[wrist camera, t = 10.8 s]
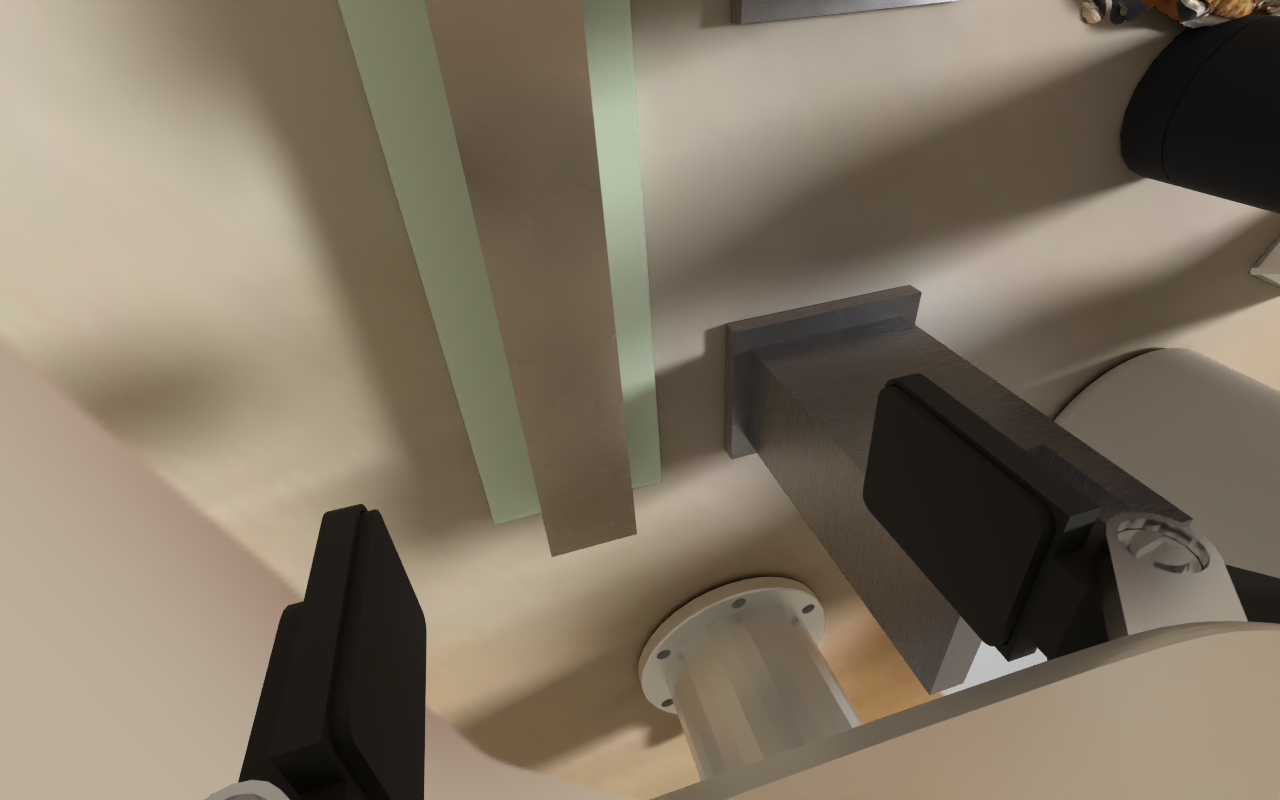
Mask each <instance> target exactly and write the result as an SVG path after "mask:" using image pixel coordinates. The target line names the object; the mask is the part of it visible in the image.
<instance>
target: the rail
mask: <svg viewBox="0 0 1280 800" xmlns="http://www.w3.org/2000/svg"><path fill="white" fill-rule="evenodd" d="M424 1H425V5H426V10H427V14H428V18H429V23H430V27H431V31H432V36H433V40H434V44H435V49H436V53H437V58H438V62H439V66H440V71H441V75H442V79H443V84H444V88H445V92H446V97H447V101H448V106H449V110H450V114H451V119H452V123H453V127H454V132H455V136H456V140H457V145H458V149H459V154H460V158H461V162H462V167H463V171H464V175H465V180H466V184H467V189H468V193H469V197H470V202H471V206H472V210H473V215H474V219H475V223H476V228H477V232H478V237H479V241H480V245H481V250H482V254H483V258H484V263H485V267H486V271H487V276H488V280H489V285H490V289H491V293H492V298H493V302H494V306H495V311H496V315H497V319H498V324H499V328H500V333H501V337H502V341H503V346H504V350H505V354H506V359H507V363H508V367H509V372H510V376H511V381H512V385H513V389H514V394H515V398H516V402H517V407H518V411H519V415H520V420H521V424H522V429H523V433H524V437H525V442H526V446H527V450H528V455H529V459H530V464H531V468H532V472H533V477H534V481H535V485H536V490H537V494H538V498H539V503H540V507H541V512H542V516H543V520H544V525H545V529H546V533H547V538H548V542H549V546H550V551H551V555H552V557H554V556H557V555H561V554H565V553H568V552H572V551H576V550H579V549H583V548H587V547H590V546H594V545H598V544H601V543H605V542H609V541H612V540H616V539H620V538H623V537H627V536H631V535H634V534H637V530H636V521H635V511H634V501H633V492H632V482H631V473H630V463H629V453H628V444H627V434H626V424H625V415H624V405H623V396H622V386H621V376H620V367H619V357H618V347H617V338H616V328H615V319H614V309H613V299H612V290H611V280H610V271H609V261H608V251H607V242H606V232H605V222H604V213H603V203H602V194H601V184H600V174H599V165H598V155H597V146H596V136H595V126H594V117H593V107H592V97H591V88H590V78H589V69H588V59H587V49H586V40H585V30H584V20H583V11H582V1H581V0H424Z"/></svg>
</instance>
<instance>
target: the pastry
mask: <svg viewBox="0 0 1280 800" xmlns="http://www.w3.org/2000/svg"><path fill="white" fill-rule="evenodd" d="M1155 5H1156V8H1157V9H1158V10H1160V11H1161V12H1164V13H1166V14H1167V15H1168V16H1169V17H1170V18H1173V19H1176V20H1179V21H1181V22H1180V23H1182V24H1183V26H1188V27H1191V28H1197V27H1202V26H1210V27H1212V26H1215V25H1218V24H1221V23H1223V22H1227V21H1231V20H1235V19H1239V18H1241V17H1243V16H1245V15H1270V16H1280V0H1112V9H1111V13H1110V20H1111V22H1112V23H1113V24H1115V25H1117V24H1121V23H1122V22H1123V21H1124V20H1126V21H1131V20H1133V19H1135V18H1136V17H1137V16H1138V15H1140V14H1141V13H1143V12H1145V11H1147V10H1149V9H1150V8H1152V7H1153V6H1155ZM1122 6H1126V7H1127V9H1128V10H1127V14H1126V16H1124V15H1123V16H1122V15H1121V14H1120V9H1121V7H1122ZM1105 13H1106V2H1105V0H1084V1H1083V4H1082V16H1083V19H1084V21H1085V22H1086V23H1088V24H1094V23H1097V22H1099V21H1101V20H1102V19H1103V18H1104V16H1105Z"/></svg>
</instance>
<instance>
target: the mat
mask: <svg viewBox="0 0 1280 800" xmlns="http://www.w3.org/2000/svg"><path fill="white" fill-rule="evenodd" d="M581 1H582V11H583V20H584V30H585V40H586V49H587V59H588V69H589V78H590V88H591V97H592V107H593V117H594V126H595V136H596V146H597V155H598V165H599V174H600V184H601V194H602V203H603V213H604V222H605V232H606V242H607V251H608V261H609V271H610V280H611V290H612V299H613V309H614V319H615V328H616V338H617V347H618V357H619V367H620V376H621V386H622V396H623V405H624V415H625V424H626V434H627V444H628V453H629V463H630V473H631V482H632V489H636V488H640V487H644V486H647V485H651V484H655V483H659V482H662V476H661V461H660V446H659V431H658V416H657V401H656V386H655V371H654V356H653V341H652V326H651V311H650V296H649V281H648V266H647V251H646V236H645V221H644V206H643V191H642V176H641V161H640V146H639V131H638V116H637V101H636V86H635V70H634V55H633V40H632V25H631V10H630V0H581ZM338 3H339V6H340V10H341V13H342V16H343V20H344V23H345V26H346V30H347V33H348V36H349V40H350V43H351V46H352V50H353V53H354V56H355V60H356V63H357V67H358V70H359V73H360V77H361V80H362V83H363V87H364V90H365V93H366V97H367V100H368V103H369V107H370V110H371V113H372V117H373V120H374V123H375V127H376V130H377V133H378V137H379V140H380V143H381V147H382V150H383V153H384V157H385V160H386V163H387V167H388V170H389V173H390V177H391V180H392V183H393V187H394V190H395V193H396V197H397V200H398V203H399V207H400V210H401V213H402V217H403V220H404V223H405V227H406V230H407V233H408V237H409V240H410V243H411V247H412V250H413V254H414V257H415V260H416V264H417V267H418V270H419V274H420V277H421V280H422V284H423V287H424V290H425V294H426V297H427V300H428V304H429V307H430V310H431V314H432V317H433V320H434V324H435V327H436V330H437V334H438V337H439V340H440V344H441V347H442V350H443V354H444V357H445V360H446V364H447V367H448V370H449V374H450V377H451V380H452V384H453V387H454V390H455V394H456V397H457V400H458V404H459V407H460V410H461V414H462V417H463V420H464V424H465V427H466V430H467V434H468V437H469V440H470V444H471V447H472V451H473V454H474V457H475V461H476V464H477V467H478V471H479V474H480V477H481V481H482V484H483V487H484V491H485V494H486V497H487V501H488V504H489V507H490V511H491V514H492V517H493V521H494V524H495V525H496V524H500V523H504V522H508V521H512V520H516V519H520V518H523V517H527V516H531V515H535V514H539V513H542V512H541V507H540V503H539V498H538V494H537V490H536V485H535V481H534V477H533V472H532V468H531V464H530V459H529V455H528V450H527V446H526V442H525V437H524V433H523V429H522V424H521V420H520V415H519V411H518V407H517V402H516V398H515V394H514V389H513V385H512V381H511V376H510V372H509V367H508V363H507V359H506V354H505V350H504V346H503V341H502V337H501V333H500V328H499V324H498V319H497V315H496V311H495V306H494V302H493V298H492V293H491V289H490V285H489V280H488V276H487V271H486V267H485V263H484V258H483V254H482V250H481V245H480V241H479V237H478V232H477V228H476V223H475V219H474V215H473V210H472V206H471V202H470V197H469V193H468V189H467V184H466V180H465V175H464V171H463V167H462V162H461V158H460V154H459V149H458V145H457V140H456V136H455V132H454V127H453V123H452V119H451V114H450V110H449V106H448V101H447V97H446V92H445V88H444V84H443V79H442V75H441V71H440V66H439V62H438V58H437V53H436V49H435V44H434V40H433V36H432V31H431V27H430V23H429V18H428V14H427V10H426V5H425V1H424V0H338Z"/></svg>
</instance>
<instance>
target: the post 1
mask: <svg viewBox="0 0 1280 800" xmlns="http://www.w3.org/2000/svg"><path fill="white" fill-rule="evenodd" d="M949 1H958V0H731V23H736V24H748V23H757V22H767V21H776V20H785V19H794V18H803V17H812V16H821V15H830V14H839V13H849V12H858V11H867V10H876V9H885V8H894V7H903V6H912V5H921V4H931V3H940V2H949Z"/></svg>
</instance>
